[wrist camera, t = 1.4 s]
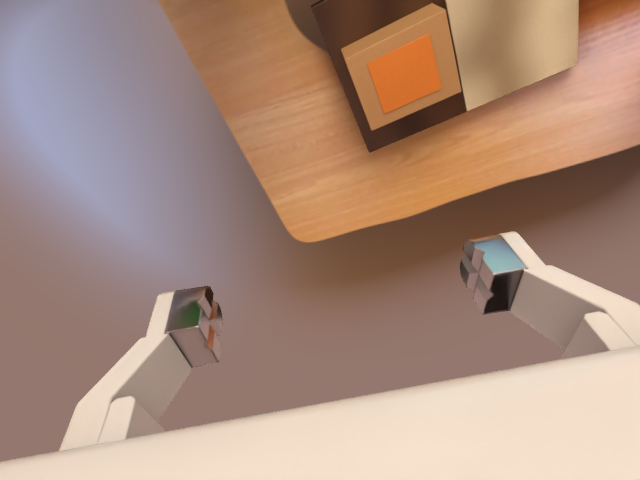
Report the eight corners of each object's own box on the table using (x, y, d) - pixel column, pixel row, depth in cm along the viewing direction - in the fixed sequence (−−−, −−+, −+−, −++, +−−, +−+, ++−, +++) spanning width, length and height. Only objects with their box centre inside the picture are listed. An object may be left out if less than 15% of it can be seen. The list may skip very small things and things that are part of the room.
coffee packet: (432, 2, 29) (446, 9, 27) (448, 79, 33) (462, 92, 31) (340, 48, 31) (344, 59, 29) (366, 116, 35) (371, 131, 32)
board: (569, -136, 26) (580, -139, 25) (570, 61, 34) (578, 64, 33) (310, 5, 30) (311, 7, 29) (367, 148, 39) (369, 153, 38)
